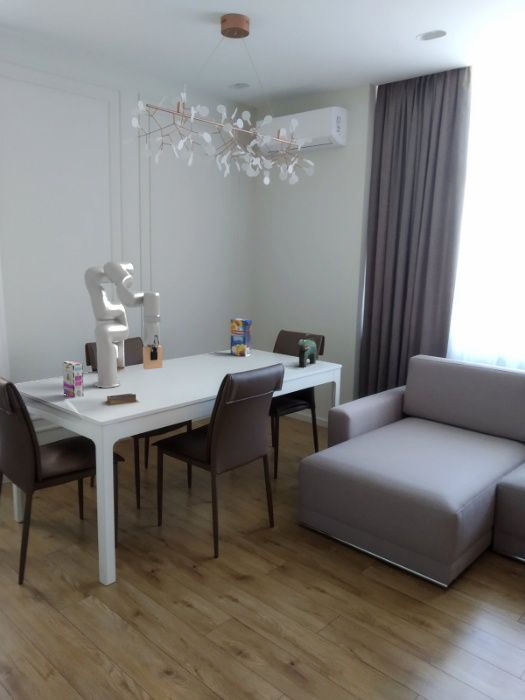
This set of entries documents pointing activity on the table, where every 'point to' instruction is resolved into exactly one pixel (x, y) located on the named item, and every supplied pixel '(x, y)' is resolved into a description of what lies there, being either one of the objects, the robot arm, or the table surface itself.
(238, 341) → the juice carton
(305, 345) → the green elephant figurine
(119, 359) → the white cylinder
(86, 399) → the table surface
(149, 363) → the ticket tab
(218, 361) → the table surface
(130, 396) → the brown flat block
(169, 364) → the table surface
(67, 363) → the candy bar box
